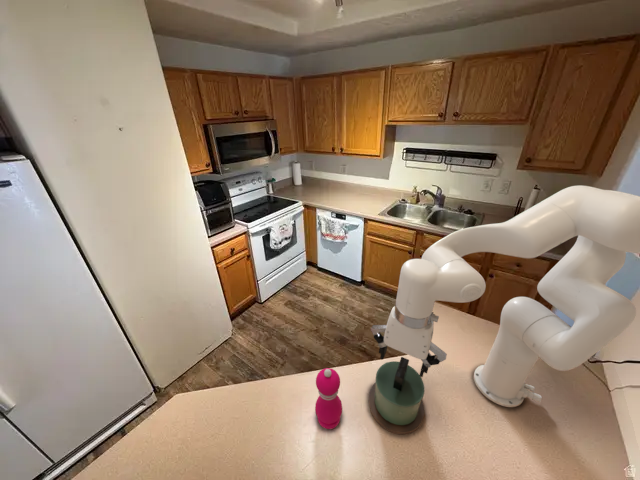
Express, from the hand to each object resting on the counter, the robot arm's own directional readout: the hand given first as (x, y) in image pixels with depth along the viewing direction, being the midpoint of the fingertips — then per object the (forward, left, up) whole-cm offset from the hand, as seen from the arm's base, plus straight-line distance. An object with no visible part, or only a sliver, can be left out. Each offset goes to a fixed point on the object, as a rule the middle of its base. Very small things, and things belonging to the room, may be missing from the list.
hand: (402, 363), depth 65 cm
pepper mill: (+15, +12, -18) cm, 26 cm away
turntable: (0, 0, -18) cm, 18 cm away
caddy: (0, 0, -17) cm, 17 cm away
